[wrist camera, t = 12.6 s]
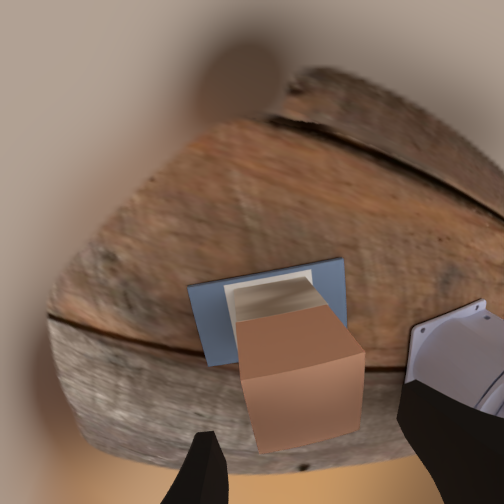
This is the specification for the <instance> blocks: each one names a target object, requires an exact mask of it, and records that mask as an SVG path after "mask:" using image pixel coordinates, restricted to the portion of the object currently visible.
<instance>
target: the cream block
mask: <svg viewBox="0 0 504 504" xmlns="http://www.w3.org/2000/svg"><path fill="white" fill-rule="evenodd" d="M234 300H235V311H236V322H241V321H247V320H252V319H258V318H263V317H269V316H274V315H279V314H284V313H289V312H294V311H299V310H303V309H308V308H313V307H317V306H322V305H326V304H327V305H328V303H327V302H326V301H325V300H324V298H323V297H322V296H321V295H320V294H319V292H318V291H317V290H316V289H315V288H314V286H313V285H312V284H311V283H310V282H309V280H308V279H307V278H306V277H305V276H304V277H298V278H293V279H288V280H282V281H277V282H271V283H266V284H260V285H254V286H249V287H243V288H237V289H234Z"/></svg>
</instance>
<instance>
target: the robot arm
mask: <svg viewBox="0 0 504 504" xmlns="http://www.w3.org/2000/svg"><path fill="white" fill-rule="evenodd" d="M485 307H486V300H484V299H480V300H478V301H476V302H474V303H471V304H469V305H467V306H464V307H462V308H460V309H457V310H455V311H452V312H450V313H447V314H445V315H442V316H440V317H437V318H435V319H432V320H429V321H427V322H424V323H421V324H418V325H416V326H414V327H413V329H412V331H411V340H410V349H409V357H408V364H407V371H406V378H405V384H403V388H402V393H401V399H400V404H399V409H398V414H397V418H396V419H397V421H398V423H399V425H400V427H401V430H402V432H403V434H404V436H405V438H406V439H407V441H408V442H409V444H410V445H411V447H412V448H413V450H414V451H415V453H416V454H417V456H418V457H419V458H420V460H421V461H422V463H423V464H424V466H425V467H426V469H427V470H428V472H429V473H430V475H431V476H432V478H433V480H434V482H435V484H436V486H437V488H438V490H439V492H440V494H441V497H442V499H443V501H444V504H504V320H503V319H501V318H500V317H498V316H496V315H495V314H493V313H491V312H490V311H488V310H486V309H485ZM422 328H423V329H422ZM421 329H422V330H421ZM228 491H229V484H228V473H227V464H226V460H225V457H224V455H223V453H222V450H221V448H220V445H219V443H218V440H217V438H216V435H215V433H214V431H208V432H197V433H196V434H195V436H194V439H193V442H192V444H191V447H190V449H189V452H188V454H187V456H186V458H185V461H184V463H183V465H182V467H181V469H180V471H179V473H178V475H177V477H176V479H175V480H174V482H173V484H172V486H171V487H170V489H169V491H168V492H167V494H166V496H165V497H164V499H163V500H162V502H161V503H160V504H228V493H229V492H228Z"/></svg>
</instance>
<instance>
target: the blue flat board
mask: <svg viewBox="0 0 504 504" xmlns="http://www.w3.org/2000/svg"><path fill="white" fill-rule="evenodd" d="M304 276H305V277H306V278H307V279H308V280H309V282H310V283H311V284H312V285H313V286H314V288H315V289H316V290H317V291H318V292H319V294H320V295H321V296H322V297H323V298H324V300H325V301H326V302H327V303H328V306H329V307H330V308H331V310H332V311H333V312H334V313H335V315H336V316H337V317H338V318H339V320H340V321H341V322H342V323H343V325H344V326H345V327H346V328H347V310H346V288H345V272H344V259H343V258H342V257H340V258H335V259H330V260H325V261H320V262H315V263H310V264H305V265H300V266H294V267H289V268H284V269H278V270H273V271H268V272H262V273H257V274H251V275H246V276H240V277H235V278H229V279H223V280H218V281H212V282H206V283H200V284H195V285H189V286H188V287H187V289H188V293H189V297H190V301H191V305H192V309H193V313H194V317H195V321H196V324H197V328H198V332H199V336H200V339H201V343H202V346H203V350H204V353H205V357H206V360H207V364H208V367H210V366H217V365H223V364H230V363H236V362H239V358H238V347H237V335H236V323H235V322H236V311H235V300H234V289H237V288H243V287H249V286H254V285H260V284H266V283H271V282H277V281H282V280H288V279H293V278H298V277H304Z"/></svg>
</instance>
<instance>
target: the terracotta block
mask: <svg viewBox="0 0 504 504" xmlns="http://www.w3.org/2000/svg"><path fill="white" fill-rule="evenodd" d="M235 323H236V335H237V347H238V358H239V369H240V380H241V384H242V388H243V392H244V396H245V400H246V404H247V408H248V412H249V416H250V420H251V424H252V428H253V432H254V435H255V439H256V443H257V447H258V450H259V454H264V453H270V452H275V451H280V450H285V449H290V448H295V447H299V446H304V445H308V444H312V443H316V442H320V441H324V440H327V439H331V438H335V437H338V436H341V435H345V434H348V433H351V432H354V431H357V430H359V428H360V420H361V410H362V399H363V386H364V370H365V351H364V349H363V348H362V347H361V346H360V344H359V343H358V342H357V341H356V339H355V338H354V337H353V336H352V334H351V333H350V332H349V331H348V329H347V328H346V327H345V326H344V325H343V323H342V322H341V321H340V320H339V318H338V317H337V316H336V315H335V313H334V312H333V311H332V310H331V308H330V307H329V306H328V305H327V304H326V305H322V306H317V307H313V308H308V309H303V310H299V311H294V312H289V313H284V314H279V315H274V316H269V317H263V318H258V319H252V320H247V321H241V322H235Z"/></svg>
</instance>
